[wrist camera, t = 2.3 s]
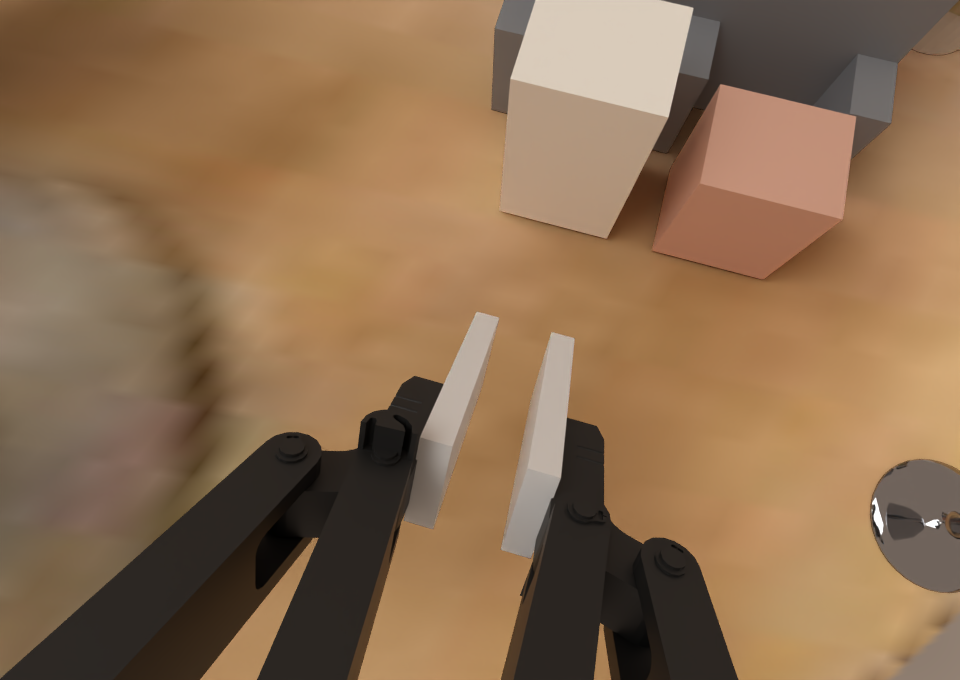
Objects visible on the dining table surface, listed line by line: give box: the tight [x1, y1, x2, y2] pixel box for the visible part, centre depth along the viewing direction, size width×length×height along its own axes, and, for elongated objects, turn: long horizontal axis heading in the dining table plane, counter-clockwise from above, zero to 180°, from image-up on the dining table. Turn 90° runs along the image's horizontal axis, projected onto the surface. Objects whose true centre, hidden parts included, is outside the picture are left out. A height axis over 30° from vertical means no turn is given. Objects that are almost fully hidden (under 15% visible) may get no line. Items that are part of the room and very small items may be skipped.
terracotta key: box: [652, 84, 856, 279], centre depth 33 cm, size 7×6×8 cm
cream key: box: [499, 0, 693, 239], centre depth 31 cm, size 7×6×12 cm
